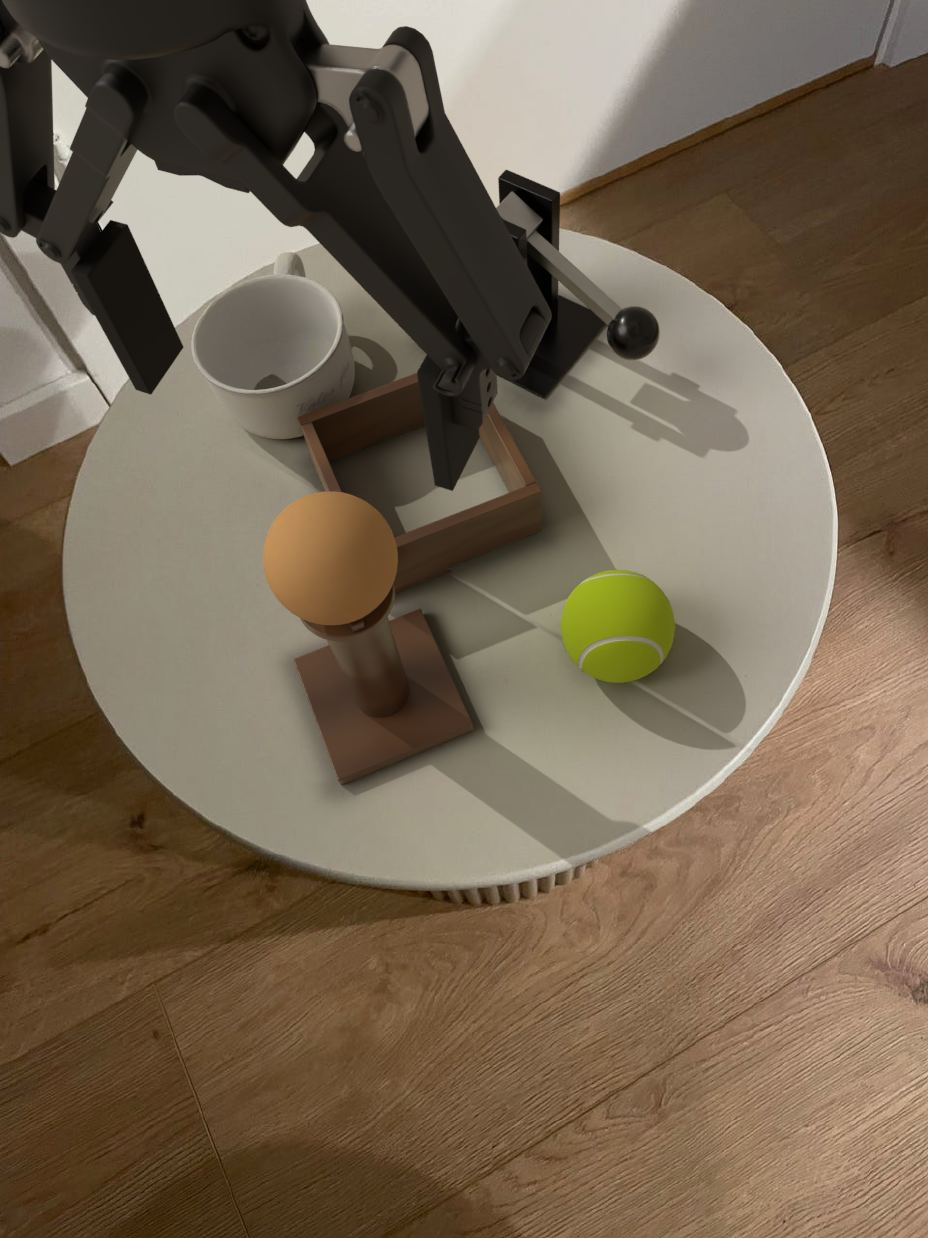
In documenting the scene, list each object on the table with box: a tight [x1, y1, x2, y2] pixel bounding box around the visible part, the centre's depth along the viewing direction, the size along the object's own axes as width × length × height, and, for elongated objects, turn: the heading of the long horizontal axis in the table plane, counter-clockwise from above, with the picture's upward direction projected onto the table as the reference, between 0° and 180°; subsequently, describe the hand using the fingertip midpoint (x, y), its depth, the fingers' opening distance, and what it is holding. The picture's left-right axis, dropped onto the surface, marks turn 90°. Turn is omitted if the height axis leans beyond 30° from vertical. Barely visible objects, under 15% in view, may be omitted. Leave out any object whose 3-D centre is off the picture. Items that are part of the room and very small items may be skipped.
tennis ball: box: [560, 569, 676, 684], centre depth 62 cm, size 7×7×7 cm
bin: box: [297, 372, 543, 595], centre depth 69 cm, size 13×13×6 cm
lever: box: [495, 191, 661, 362], centre depth 68 cm, size 14×4×4 cm, turn 54°
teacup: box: [190, 251, 356, 440], centre depth 73 cm, size 14×11×8 cm
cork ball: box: [262, 491, 398, 625], centre depth 48 cm, size 6×6×6 cm
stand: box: [293, 584, 475, 786], centre depth 58 cm, size 9×9×15 cm
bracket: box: [496, 169, 607, 400], centre depth 72 cm, size 11×9×13 cm
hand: (303, 413), depth 40 cm, fingers open, 13 cm apart
